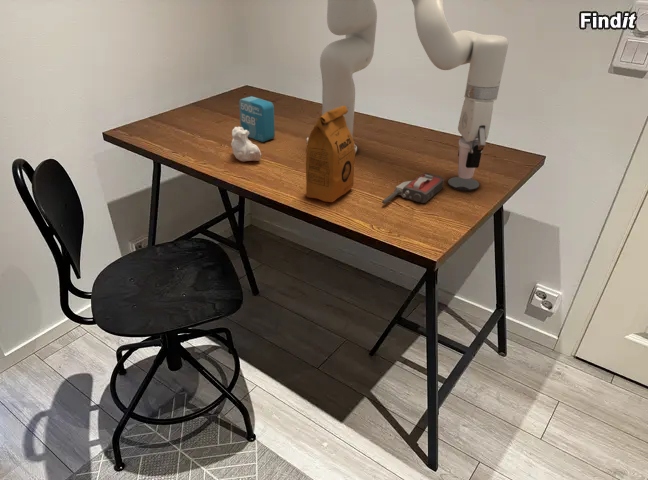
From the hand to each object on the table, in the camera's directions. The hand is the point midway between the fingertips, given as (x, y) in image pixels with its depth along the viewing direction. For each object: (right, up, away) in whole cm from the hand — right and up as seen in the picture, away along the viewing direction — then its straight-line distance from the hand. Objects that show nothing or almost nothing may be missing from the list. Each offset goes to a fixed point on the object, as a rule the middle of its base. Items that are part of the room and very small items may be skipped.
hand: (468, 161), depth 134 cm
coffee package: (-36, -9, +1) cm, 37 cm away
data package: (-57, +16, +36) cm, 69 cm away
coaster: (0, -5, +4) cm, 7 cm away
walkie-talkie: (-15, -10, -1) cm, 18 cm away
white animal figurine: (-60, +5, +21) cm, 63 cm away
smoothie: (0, -4, +2) cm, 4 cm away
